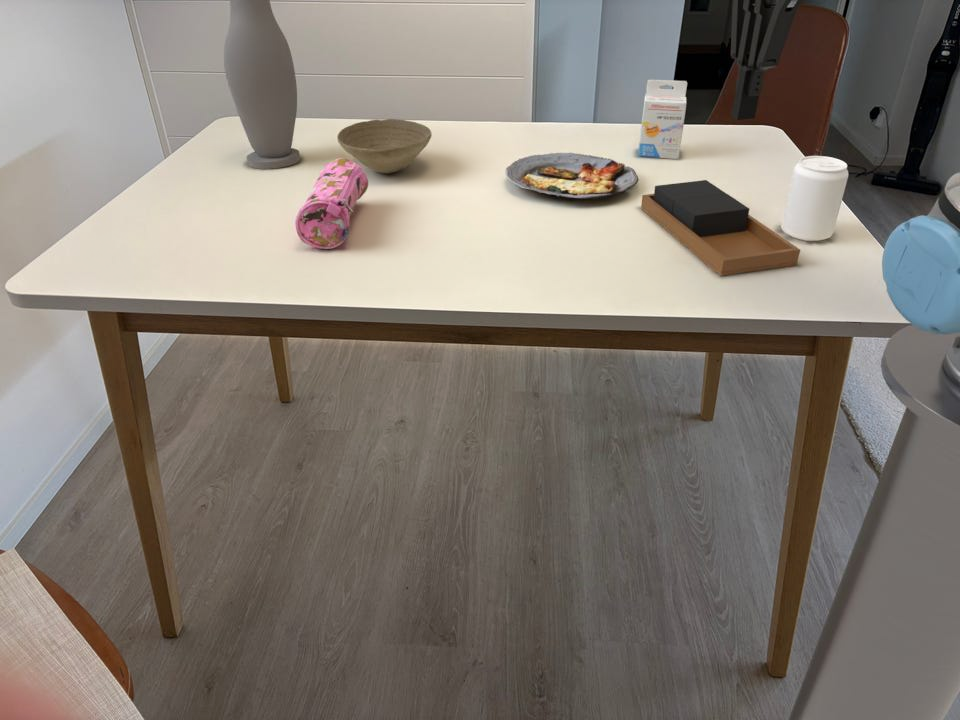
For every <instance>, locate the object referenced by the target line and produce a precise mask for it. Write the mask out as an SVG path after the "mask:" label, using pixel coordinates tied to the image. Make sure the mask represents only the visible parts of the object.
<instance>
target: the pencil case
mask: <svg viewBox="0 0 960 720" xmlns="http://www.w3.org/2000/svg"><path fill="white" fill-rule="evenodd" d="M368 188H369V180H368V176H367V174H366V172H365V171H364V170H363V168H362V167H361V166H360V165H358V164H357V163H355V162H354V161H353V160H350V159H349V158H345V157H341V158H340V157H339V158H336V159H334V160H332V161H330V162H328V163H327V164H325V165H324V167H322V170H321V172H320V173H319V175H318V178H317V179H316V181H315V184H314V185H313V188H312V190H311V192H310V194H309V196H308V197H307V199H306V201H305V203H304V204H303V205H302V206H301V208H300V209H299V211H298V212H297V215H296V217H295V221H294V222H295V223H294V224H295V225H294V226H295V231H296V233H297V235H298V238H299V239H300V240H301V241H302V243H305V244H306V245H307V246H310V247H312V248H313V247H314V248H315V249H319V250H331V249H335V248H338V247H340V246H341V245H342V244H343V243H344V242H345V241H346V240H347V238H348V235H349V232H350V218H351V216H352V214H355V213H354V209H355V207H356V205H357V202H358V201H359V200H360V199H361V198H362V197H363V196H364V194H365V193H366V192H367V191H368Z"/></svg>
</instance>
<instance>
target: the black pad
mask: <svg viewBox="0 0 960 720" xmlns="http://www.w3.org/2000/svg"><path fill="white" fill-rule="evenodd" d="M748 214H749V215H750V207H748V206H747V205H745V204H743V203H742V202H740V201H739V200H737V199H736V198H734V197H733V196H731V195H730V194H729V193H726V194H721V195H712V196H704V197H696V198H687V199H679V200H674V205H673V212H672V215H673V216H674V217H675V218H676V219H678V220H679V221H680V222H681V223H683V224H684V225H685V226H686V227H688V228H689V229H690V230H691V231H693V232H694V233H695V234H696V235H698V236H699V237H705V236H712V235H720V234H727V233H735V232H742V231H745V229H746V224H747V219H748Z"/></svg>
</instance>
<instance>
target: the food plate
mask: <svg viewBox="0 0 960 720" xmlns="http://www.w3.org/2000/svg"><path fill="white" fill-rule="evenodd" d="M505 176H506V178H507V180H508V181H510V182H511V183H512V184H514V185H515V186H517V187H520V188H521V189H523V190H524V189H525V190H530V191H535V192H536V193H537V192H538V193H540V194H542V193H543V194H547V195H554V196H556V197H558V198H560V197H565V198H572V199H573V198H574V199H579V200H580V199H582V200H591V199H599V198H607V197H613V196H615V195H621V194H624V193H625V192H626V191H628V190H630V189H632V187H634V186H635V185H637V184H638V182H639V176H638V174H637V172H636V170H635V169H634V168H632V167H631V166H628V165H626V164H624V162H619V161H615V160H614V159H612V158H607V157H602V156H596V155H590V154H584V153H575V152H554V153H553V152H550V153H543V154H533V155H528V156H525V157H522V158H520V157H519V159H516V160H514V162H512V163H511V164H510V165H508V166H507V167H505Z"/></svg>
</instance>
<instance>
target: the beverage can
mask: <svg viewBox="0 0 960 720" xmlns="http://www.w3.org/2000/svg"><path fill="white" fill-rule="evenodd" d="M848 179H849V170H848V164H847V163H846V162H845V161H843V160H841V159H838V158H837V157H831V156H824V155H808V156H803V157H801V158H800V159H799V160H798V163H797V164H796V165H795V166H794V168H793V171H792V177H791V180H790V185H789V190H788V194H787V197H786V198H787V199H786V203H785V207H784V211H783V216H782V220H781V224H780V225H781V226H780V228H781V230H782V232H784V233H785V234H786V235H788V236H790V237H791V238H794V239H796V240H800V241H805V242H818V241H819V242H820V241H823V240H827V239H829V238H831V237H832V236H833V235H834V231H835V228H836V225H837V221H838V216H839V213H840V209H841V206H842V201H843V197H844V194H845V190H846V186H847V182H848Z"/></svg>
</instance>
